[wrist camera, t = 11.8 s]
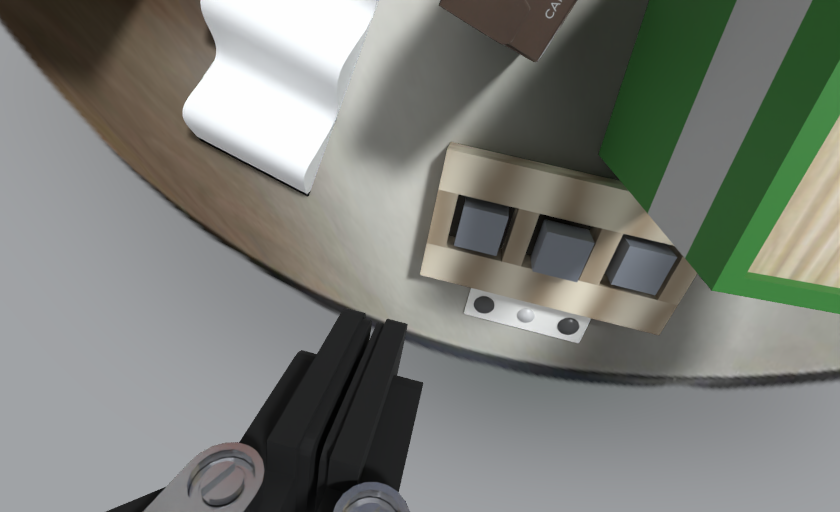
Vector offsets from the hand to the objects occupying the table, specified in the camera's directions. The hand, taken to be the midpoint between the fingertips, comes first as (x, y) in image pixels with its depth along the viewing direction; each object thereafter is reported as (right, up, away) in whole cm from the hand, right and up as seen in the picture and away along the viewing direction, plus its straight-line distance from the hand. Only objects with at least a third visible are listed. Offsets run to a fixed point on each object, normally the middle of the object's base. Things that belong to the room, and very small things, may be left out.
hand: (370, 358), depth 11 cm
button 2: (+23, +3, +31) cm, 39 cm away
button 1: (+8, +6, +32) cm, 34 cm away
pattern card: (+14, -4, +37) cm, 40 cm away
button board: (+16, +5, +32) cm, 36 cm away
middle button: (+15, +4, +31) cm, 34 cm away
